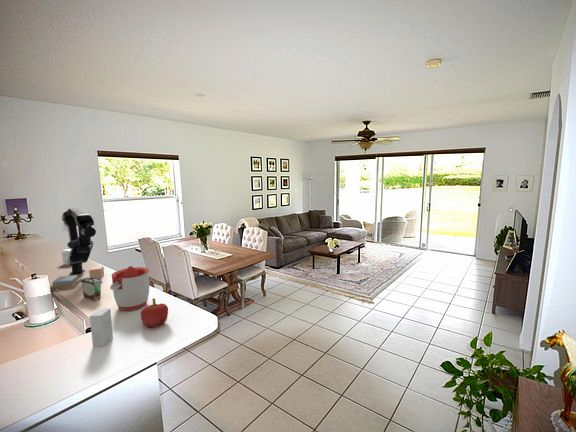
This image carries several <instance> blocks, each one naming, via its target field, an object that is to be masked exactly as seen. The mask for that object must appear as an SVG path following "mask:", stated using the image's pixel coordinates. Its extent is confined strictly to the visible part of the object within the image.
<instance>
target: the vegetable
mask: <svg viewBox="0 0 576 432" xmlns="http://www.w3.org/2000/svg"><path fill="white" fill-rule="evenodd" d="M151 300H152V304H151V305H148V306H146V305H145V306H143V307H142V309H141V311H140V319H141V323H142V324H143V326H144V327H146V328H150V327H151V328H156V327H158V326H162V325H164V324H165V323H166V321H167V319H168V315H169V307H168V305H167V304H165V303H158V304H157V302H156V299H155V297H154V298H151Z"/></svg>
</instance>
